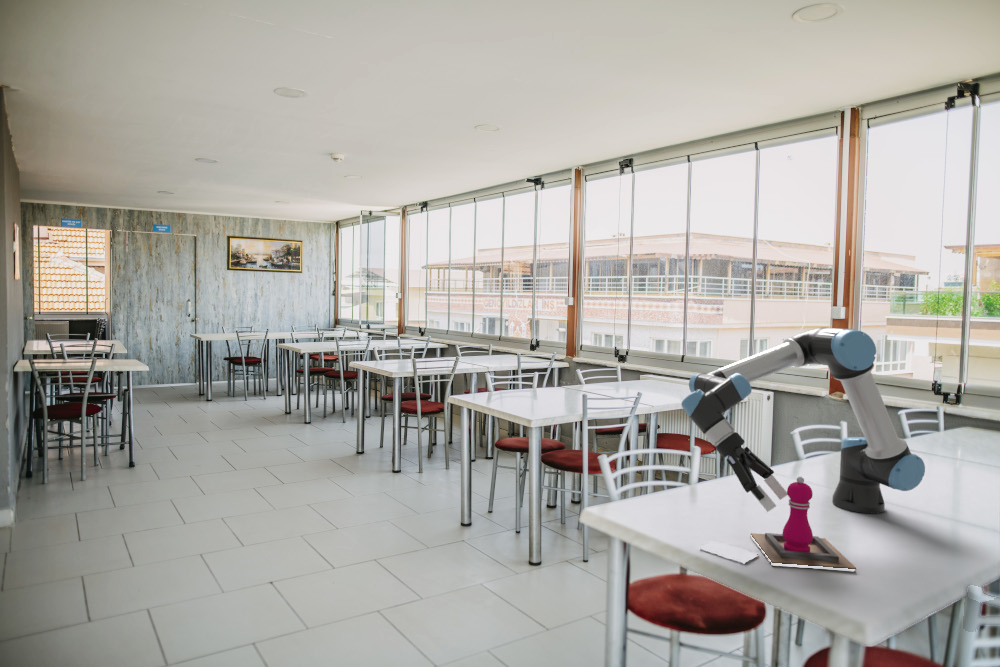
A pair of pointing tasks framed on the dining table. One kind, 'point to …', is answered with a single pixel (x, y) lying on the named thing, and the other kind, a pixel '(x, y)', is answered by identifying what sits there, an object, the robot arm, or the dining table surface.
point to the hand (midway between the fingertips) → (778, 502)
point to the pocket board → (818, 555)
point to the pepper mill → (798, 518)
